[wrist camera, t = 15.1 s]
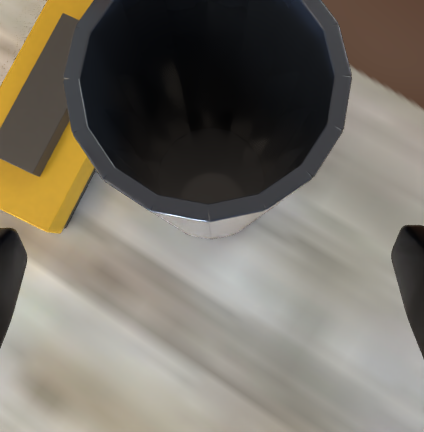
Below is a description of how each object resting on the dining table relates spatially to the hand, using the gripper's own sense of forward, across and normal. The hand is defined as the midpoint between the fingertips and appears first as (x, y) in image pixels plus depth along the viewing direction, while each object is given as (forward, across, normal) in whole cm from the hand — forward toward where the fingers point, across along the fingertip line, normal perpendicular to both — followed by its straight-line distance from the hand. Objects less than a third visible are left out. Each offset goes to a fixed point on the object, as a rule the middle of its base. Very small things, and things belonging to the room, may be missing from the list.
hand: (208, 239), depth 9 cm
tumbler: (+11, 0, +6) cm, 12 cm away
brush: (+13, +8, +3) cm, 16 cm away
